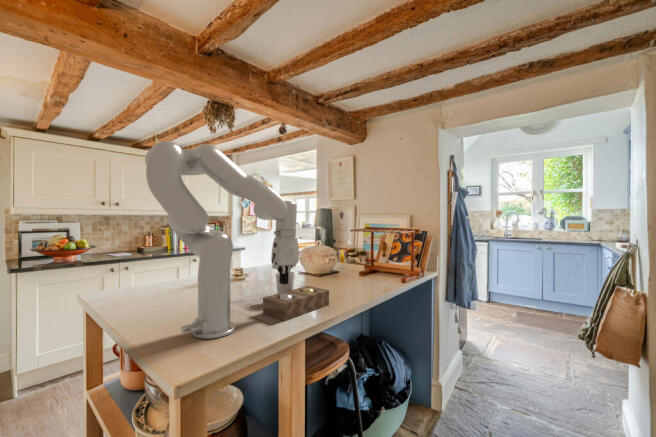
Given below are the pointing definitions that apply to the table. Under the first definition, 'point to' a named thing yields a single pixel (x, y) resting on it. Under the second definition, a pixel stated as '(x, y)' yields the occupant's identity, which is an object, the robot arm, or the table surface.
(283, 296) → the steel peg
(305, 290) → the brass peg
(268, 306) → the walnut block
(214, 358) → the table surface
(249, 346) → the table surface
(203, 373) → the table surface
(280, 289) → the cup
